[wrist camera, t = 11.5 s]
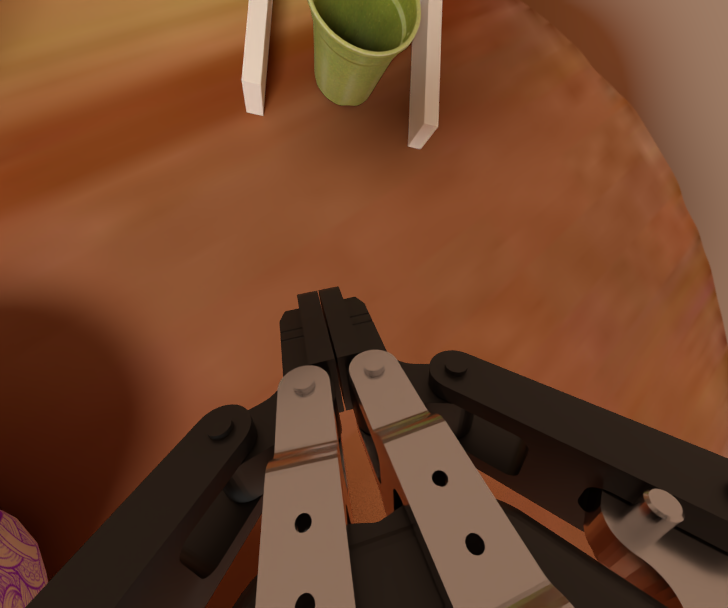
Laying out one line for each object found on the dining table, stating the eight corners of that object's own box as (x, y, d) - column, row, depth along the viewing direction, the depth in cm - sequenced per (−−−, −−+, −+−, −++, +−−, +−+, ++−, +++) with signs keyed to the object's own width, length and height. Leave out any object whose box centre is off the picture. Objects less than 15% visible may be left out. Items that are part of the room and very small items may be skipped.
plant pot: (402, 80, 34) (441, 1, 26) (356, 142, 32) (382, 77, 24) (332, 19, 33) (350, -87, 24) (279, 79, 31) (279, -13, 23)
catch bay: (246, 112, 30) (241, 80, 26) (260, -44, 31) (257, -96, 27) (420, 149, 34) (438, 126, 30) (425, 12, 36) (443, -27, 32)
